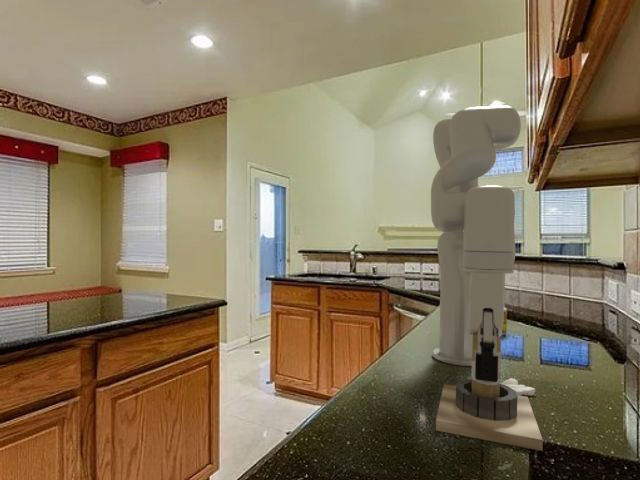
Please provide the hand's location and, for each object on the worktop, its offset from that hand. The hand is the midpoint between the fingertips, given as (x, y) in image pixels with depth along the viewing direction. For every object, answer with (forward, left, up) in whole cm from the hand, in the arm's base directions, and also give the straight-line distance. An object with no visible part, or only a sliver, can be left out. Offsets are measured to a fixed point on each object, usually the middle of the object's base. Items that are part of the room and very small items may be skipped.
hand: (485, 373), depth 63 cm
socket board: (0, 0, -7) cm, 7 cm away
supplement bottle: (-66, +5, -7) cm, 66 cm away
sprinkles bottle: (0, 0, -5) cm, 5 cm away
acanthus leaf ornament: (-15, +5, -8) cm, 17 cm away
